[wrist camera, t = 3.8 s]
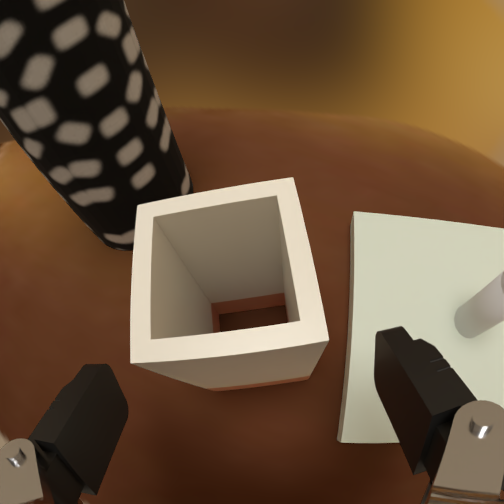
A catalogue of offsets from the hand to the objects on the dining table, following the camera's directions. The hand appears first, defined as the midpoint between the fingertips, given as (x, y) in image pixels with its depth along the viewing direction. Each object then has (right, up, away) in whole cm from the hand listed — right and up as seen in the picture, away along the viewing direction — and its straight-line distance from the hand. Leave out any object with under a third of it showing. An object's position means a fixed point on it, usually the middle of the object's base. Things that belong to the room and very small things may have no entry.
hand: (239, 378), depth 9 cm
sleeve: (+1, -1, +9) cm, 9 cm away
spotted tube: (-8, +7, +14) cm, 18 cm away
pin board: (+13, -1, +7) cm, 15 cm away
